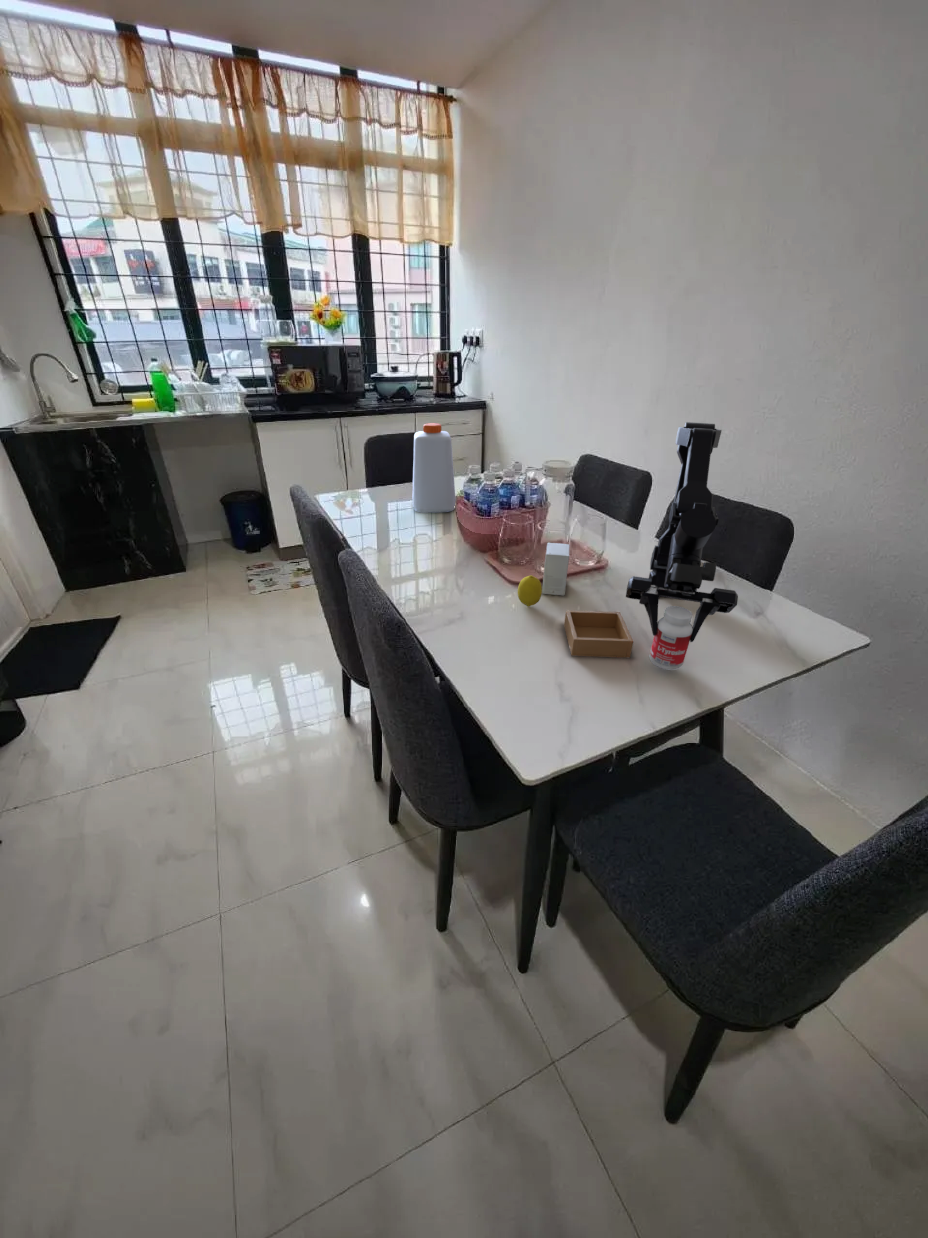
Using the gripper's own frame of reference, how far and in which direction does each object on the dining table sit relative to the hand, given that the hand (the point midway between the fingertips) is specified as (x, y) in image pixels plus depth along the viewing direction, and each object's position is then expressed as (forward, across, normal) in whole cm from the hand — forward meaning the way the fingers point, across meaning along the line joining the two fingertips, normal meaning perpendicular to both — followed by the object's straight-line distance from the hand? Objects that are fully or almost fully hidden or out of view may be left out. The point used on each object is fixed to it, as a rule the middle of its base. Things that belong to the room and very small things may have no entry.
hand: (672, 638), depth 92 cm
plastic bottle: (-49, -78, +61) cm, 110 cm away
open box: (+1, -14, +10) cm, 17 cm away
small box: (-14, -26, +25) cm, 39 cm away
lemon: (-6, -30, +17) cm, 35 cm away
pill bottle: (+4, 0, +6) cm, 7 cm away
